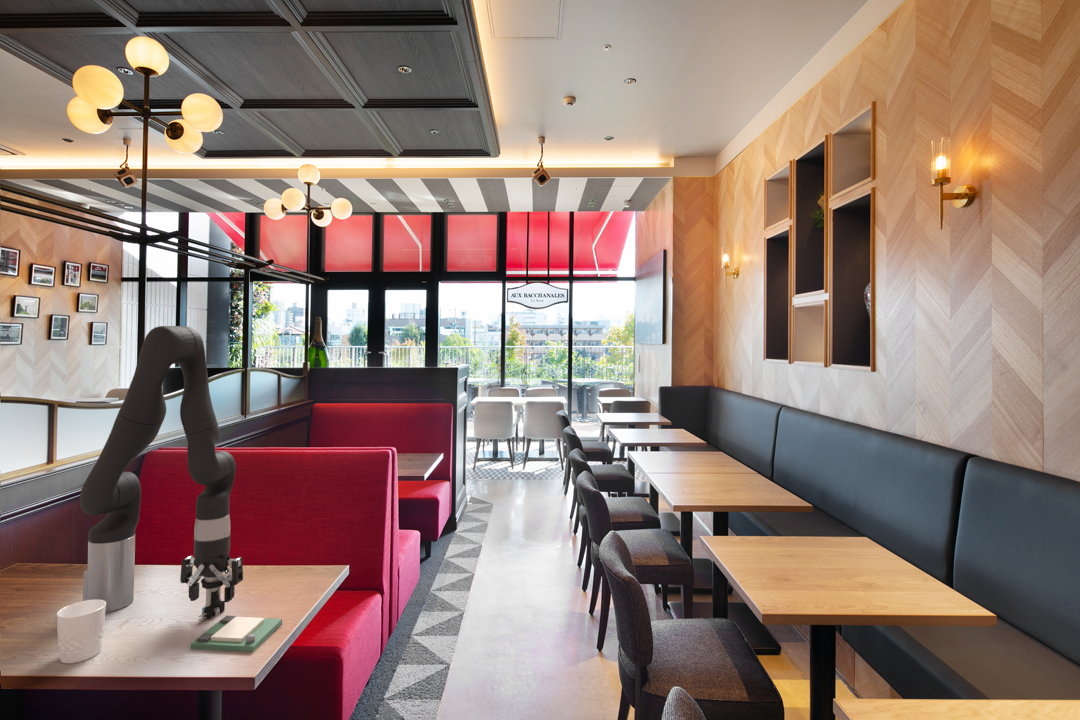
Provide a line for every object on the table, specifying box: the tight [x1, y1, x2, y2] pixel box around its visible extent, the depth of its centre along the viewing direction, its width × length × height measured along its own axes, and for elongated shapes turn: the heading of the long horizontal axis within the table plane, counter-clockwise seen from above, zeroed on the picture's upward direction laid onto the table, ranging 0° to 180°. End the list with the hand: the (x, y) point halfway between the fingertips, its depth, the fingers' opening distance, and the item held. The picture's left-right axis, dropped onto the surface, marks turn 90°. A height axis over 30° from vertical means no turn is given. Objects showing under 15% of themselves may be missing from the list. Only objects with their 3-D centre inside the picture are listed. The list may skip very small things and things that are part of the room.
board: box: [190, 615, 283, 653], centre depth 120 cm, size 14×12×2 cm
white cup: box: [56, 600, 106, 664], centre depth 111 cm, size 8×8×10 cm
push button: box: [198, 576, 226, 622], centre depth 128 cm, size 7×5×10 cm
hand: (211, 600), depth 128 cm, fingers open, 8 cm apart
